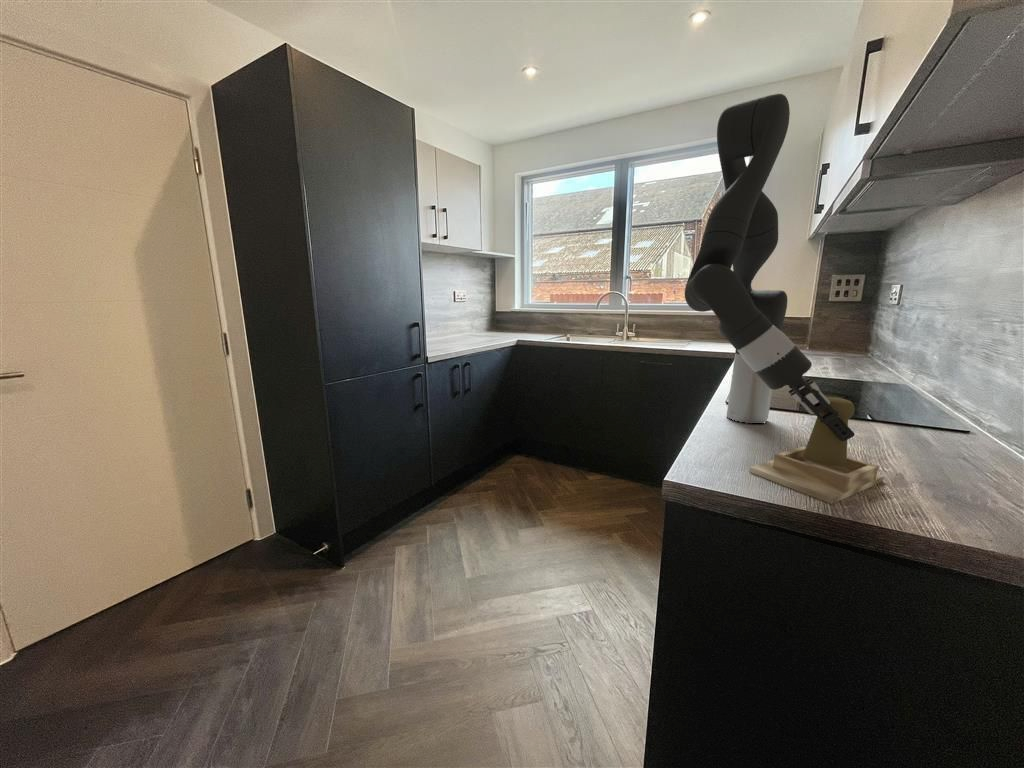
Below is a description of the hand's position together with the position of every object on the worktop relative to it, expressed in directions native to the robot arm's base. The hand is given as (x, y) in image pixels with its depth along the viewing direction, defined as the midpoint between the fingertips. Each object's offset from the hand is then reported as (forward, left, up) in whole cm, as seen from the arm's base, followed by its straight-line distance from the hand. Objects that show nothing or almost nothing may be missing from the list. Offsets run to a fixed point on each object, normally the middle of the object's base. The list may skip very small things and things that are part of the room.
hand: (843, 432), depth 68 cm
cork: (+1, -1, -5) cm, 6 cm away
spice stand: (+1, -2, -9) cm, 9 cm away
